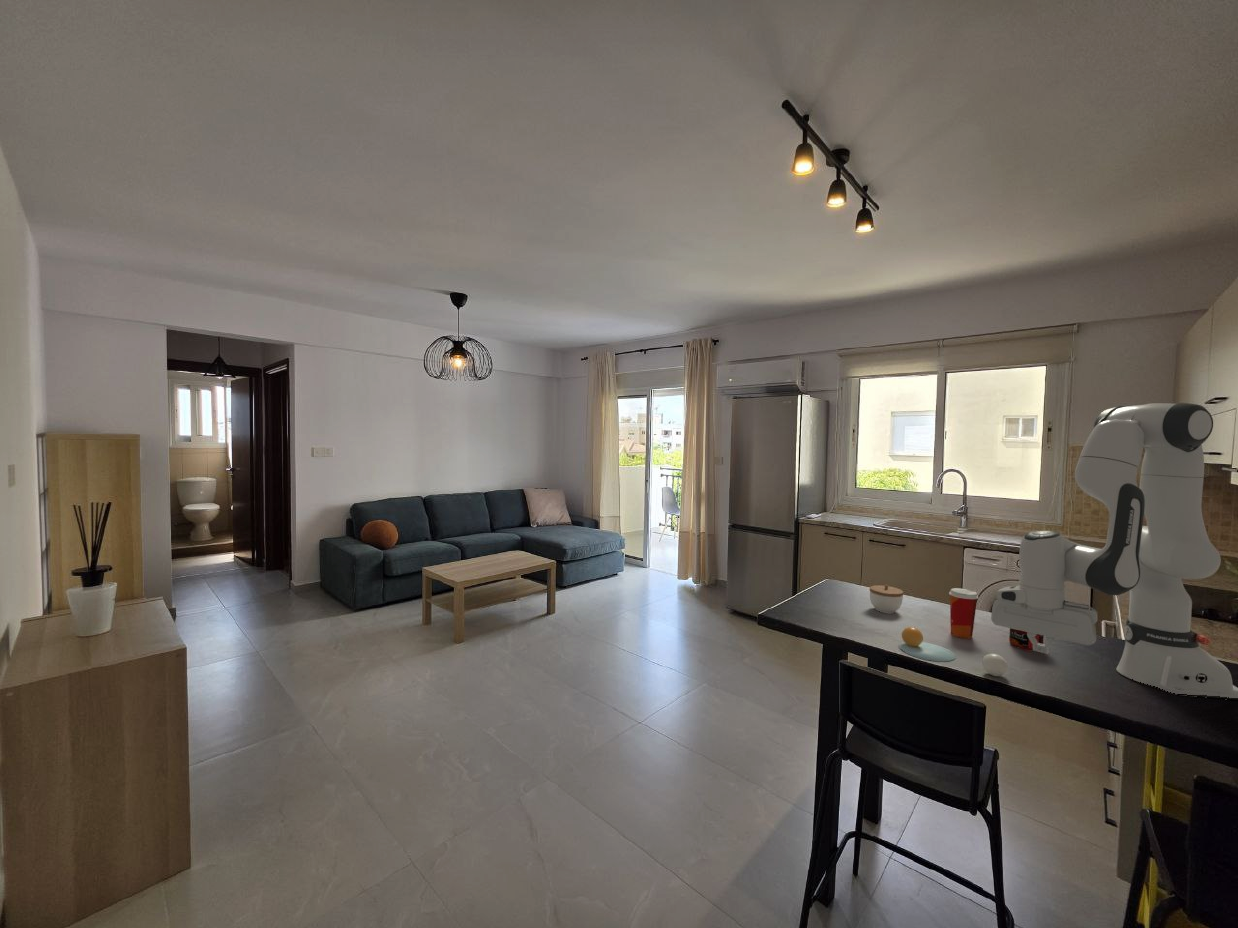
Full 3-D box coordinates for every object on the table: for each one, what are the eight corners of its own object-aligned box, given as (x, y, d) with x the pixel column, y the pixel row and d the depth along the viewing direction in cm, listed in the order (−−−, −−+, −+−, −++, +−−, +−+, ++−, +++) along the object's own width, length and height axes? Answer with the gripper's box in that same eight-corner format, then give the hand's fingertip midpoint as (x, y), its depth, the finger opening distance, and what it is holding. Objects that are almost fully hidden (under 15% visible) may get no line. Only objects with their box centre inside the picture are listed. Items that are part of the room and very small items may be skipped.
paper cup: (958, 629, 168) (961, 586, 167) (982, 638, 160) (984, 593, 160) (940, 631, 165) (942, 588, 164) (963, 641, 158) (965, 595, 157)
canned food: (1002, 640, 159) (1004, 605, 158) (1029, 641, 158) (1031, 606, 158) (1021, 651, 151) (1023, 613, 151) (1049, 651, 151) (1051, 614, 150)
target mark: (949, 646, 153) (949, 645, 153) (960, 665, 140) (960, 664, 140) (896, 638, 159) (896, 638, 159) (902, 656, 146) (902, 655, 146)
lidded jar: (879, 604, 193) (880, 579, 192) (908, 612, 184) (909, 586, 183) (862, 608, 187) (863, 583, 186) (891, 617, 178) (892, 590, 177)
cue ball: (994, 646, 136) (991, 660, 139) (978, 653, 135) (975, 668, 138) (1015, 660, 132) (1011, 675, 134) (998, 668, 130) (995, 684, 133)
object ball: (916, 643, 156) (925, 629, 154) (918, 653, 151) (927, 639, 149) (897, 634, 157) (906, 620, 155) (898, 644, 153) (907, 630, 151)
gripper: (1100, 603, 122) (1099, 661, 123) (997, 586, 138) (997, 637, 139) (1094, 609, 118) (1094, 668, 119) (989, 590, 134) (988, 643, 135)
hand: (1040, 651), depth 129 cm, fingers closed
